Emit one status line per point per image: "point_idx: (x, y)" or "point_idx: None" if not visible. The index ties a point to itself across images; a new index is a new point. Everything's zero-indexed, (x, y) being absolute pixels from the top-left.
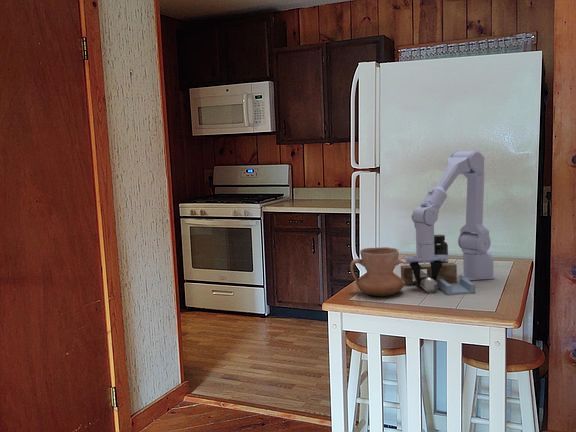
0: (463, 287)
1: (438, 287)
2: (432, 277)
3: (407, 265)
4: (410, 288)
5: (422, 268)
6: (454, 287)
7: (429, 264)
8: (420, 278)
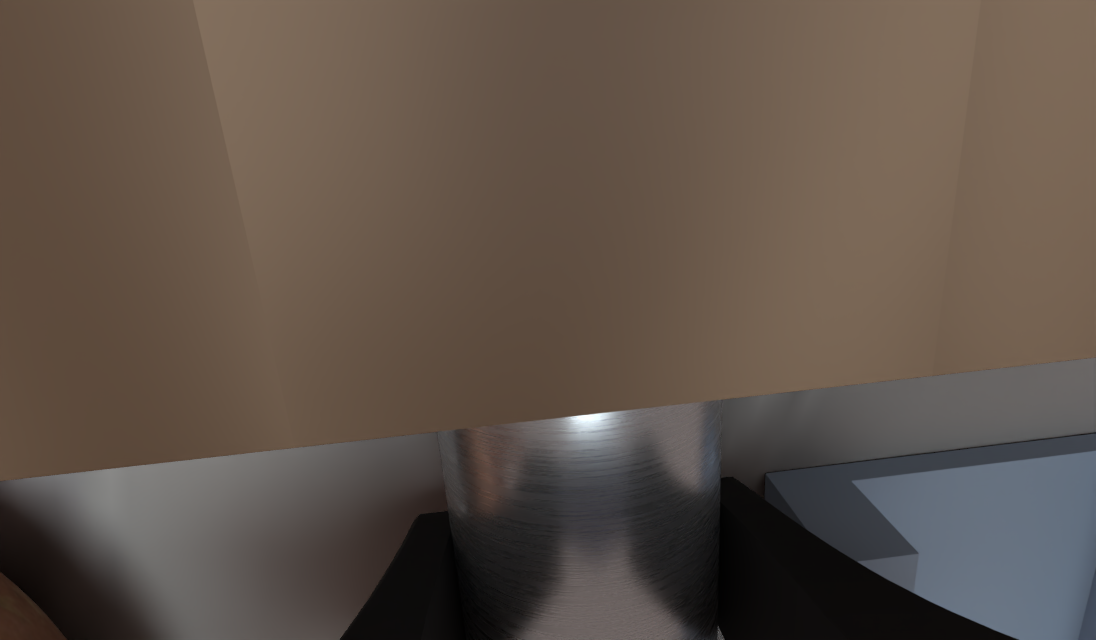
0: (1072, 606)
1: (767, 487)
2: (745, 589)
3: (85, 11)
4: (314, 473)
5: (650, 385)
6: (962, 596)
7: (1063, 12)
8: (485, 629)
